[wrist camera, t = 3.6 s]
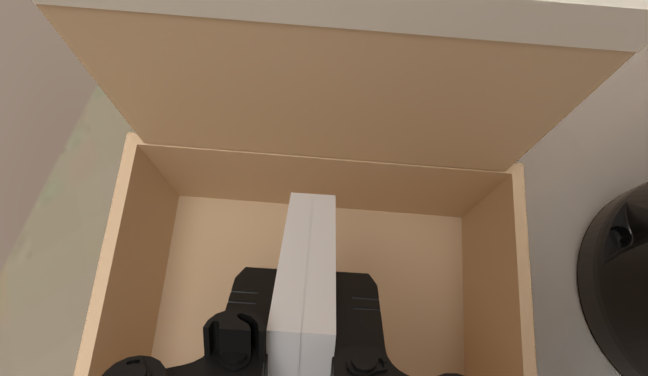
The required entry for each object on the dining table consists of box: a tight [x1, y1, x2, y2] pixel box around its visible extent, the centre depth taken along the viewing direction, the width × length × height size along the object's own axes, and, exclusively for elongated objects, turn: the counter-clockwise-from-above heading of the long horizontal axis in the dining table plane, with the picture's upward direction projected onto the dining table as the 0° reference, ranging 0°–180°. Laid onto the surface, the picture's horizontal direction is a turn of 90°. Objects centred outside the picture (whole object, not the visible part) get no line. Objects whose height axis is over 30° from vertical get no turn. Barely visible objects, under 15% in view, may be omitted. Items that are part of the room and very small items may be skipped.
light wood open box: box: [74, 132, 537, 376], centre depth 26 cm, size 20×14×9 cm
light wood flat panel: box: [31, 0, 648, 171], centre depth 19 cm, size 18×1×12 cm, turn 86°
